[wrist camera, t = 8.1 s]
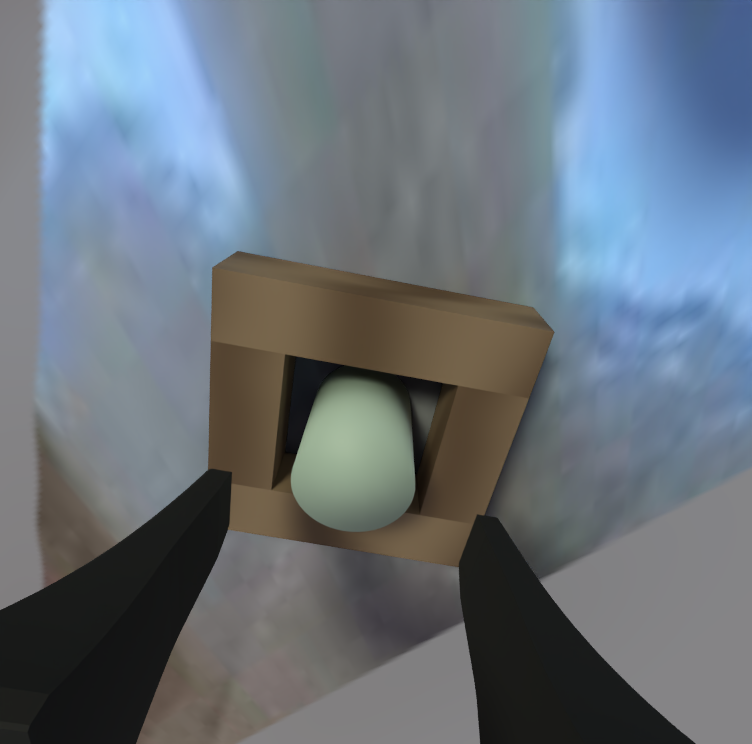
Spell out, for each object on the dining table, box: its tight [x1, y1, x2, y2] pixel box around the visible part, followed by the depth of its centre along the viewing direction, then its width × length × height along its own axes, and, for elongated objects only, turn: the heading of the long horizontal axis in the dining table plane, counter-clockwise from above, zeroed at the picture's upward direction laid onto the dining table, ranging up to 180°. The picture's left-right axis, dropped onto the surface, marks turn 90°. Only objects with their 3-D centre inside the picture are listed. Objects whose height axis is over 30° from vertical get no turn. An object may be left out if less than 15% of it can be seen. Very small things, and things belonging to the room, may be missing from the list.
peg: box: [291, 365, 415, 532], centre depth 17 cm, size 4×4×5 cm
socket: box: [208, 251, 554, 567], centre depth 18 cm, size 11×11×2 cm
